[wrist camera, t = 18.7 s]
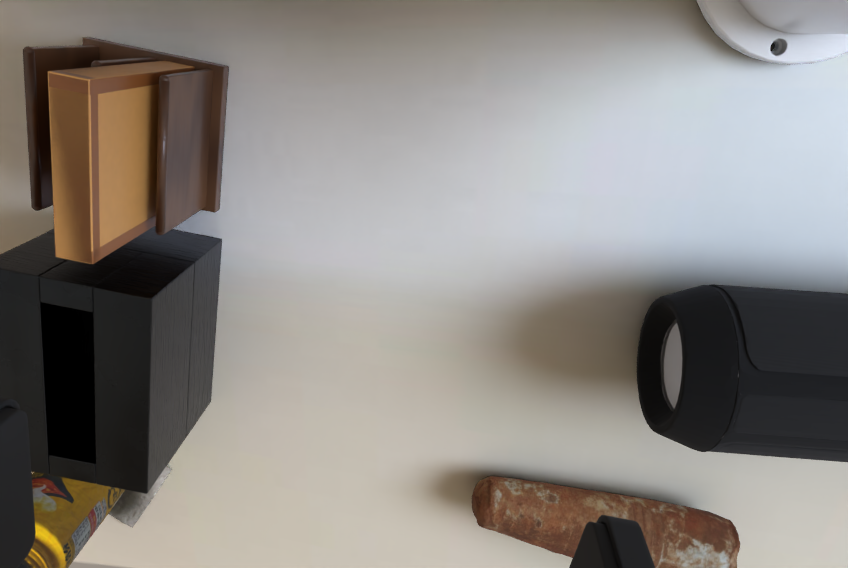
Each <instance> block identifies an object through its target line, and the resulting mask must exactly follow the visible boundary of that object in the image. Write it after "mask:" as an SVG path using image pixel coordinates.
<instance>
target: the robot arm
mask: <svg viewBox="0 0 848 568" xmlns="http://www.w3.org/2000/svg"><path fill="white" fill-rule="evenodd" d="M696 1H697V3H698V5H699V7H700V10H701V12H702V14H703V16H704V18H705V20H706V21H707V22H708V24H709V25H710V26H711V28H712V29H713V30H714V32H715V33H716V34H717V35H718V36H719V37H720V38H721V39H722V40H724V41H725V42H726V43H727V44H728V45H729V46H731V47H732V48H733V49H735V50H737V51H739V52H741V53H743V54H745V55H747V56H749V57H751V58H755V59H758V60H762V61H766V62H770V63H780V64H810V63H815V62H819V61H823V60H828V59H832V58H835V57H838V56H840V55H842V54H845V53H847V52H848V0H696ZM773 42H774V43H775V48H774V50H773V51H770V47H771V44H772V43H773ZM35 533H36V531H35V517H34V502H33V488H32V473H31V458H30V444H29V429H28V418H27V414H26V413H25V411H22V410H20V407H19V404H18V403H17V401H16V400H13V399H9V398H4V397H0V568H18V567H19V566H20V564H21V563H22V562H23V561H24V560H25V558H26V557H27V555H28V554H29V552H30V550H31V549H32V546H33V544H34V540H35ZM569 568H655V565H654V563H653V560H652V557H651V554H650V552H649V549H648V546H647V543H646V540H645V538H644V535H643V532H642V529H641V527H640V525H639V523H637V522H636V521H633V520H628V519H622V518H617V517H612V516H607V515H601V516H600V517H599V518H598V520H597V522H596V523H595V522H588V523H587V524H586V526H585V528H584V531H583V534H582V536H581V539H580V541H579V544H578V547H577V549H576V552H575V554H574V557H573V560H572V562H571V565H570V567H569Z"/></svg>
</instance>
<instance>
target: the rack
mask: <svg viewBox="0 0 848 568" xmlns="http://www.w3.org/2000/svg"><path fill="white" fill-rule="evenodd" d="M156 61H169V62H174V63H179V64H184V65H188V66H193V67H195V70H194V71H189V72H182V73H174V74H167V75H161V76H160V77H159V100H158V141H157V182H156V223H155V232H156V234H158V235H163V234H165V233H167V232H168V231H170V230H171V229H173V228H174V227H176V226H177V225H179V224H180V223H182V222H183V221H185V220H186V219H188V218H189V217H191V216H192V215H194V214H195V213H197V212H198V211H200V210H205V211H210V212H216V211H218V210H219V207H220V192H221V176H222V161H223V146H224V131H225V116H226V100H227V85H228V70H229V67H228V66H225V65H220V64H215V63H210V62H206V61H201V60H196V59H191V58H186V57H182V56H177V55H172V54H167V53H162V52H157V51H153V50H148V49H143V48H138V47H133V46H128V45H124V44H119V43H114V42H109V41H104V40H99V39H95V38H83V45H82V46H49V47H25V48H24V49H23V62H24V79H25V97H26V115H27V133H28V150H29V168H30V186H31V203H32V208H33V209H34V210H36V211H39V210H42V209H44V208H46V207H49V206H51V205H53V185H52V161H51V138H50V115H49V91H48V71H55V70H66V69H77V68H89V67H100V66H111V65H122V64H134V63H145V62H156Z"/></svg>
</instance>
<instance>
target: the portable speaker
mask: <svg viewBox="0 0 848 568" xmlns="http://www.w3.org/2000/svg"><path fill="white" fill-rule="evenodd" d="M637 384H638V392H639V400H640V404H641V409H642V412H643V415H644V417H645V420H646V422H647V424H648V425H649V427H650V428H651V429H652V430H653V431H654V432H656V433H658V434H660V435H662V436H664V437H667V438H669V439H671V440H673V441H676V442H678V443H680V444H683V445H685V446H687V447H689V448H692V449H694V450H697V451H701V452H707V451H711V452H724V453H737V454H750V455H762V456H775V457H788V458H801V459H814V460H827V461H840V462H848V294H842V293H827V292H813V291H798V290H783V289H769V288H754V287H739V286H725V285H701V286H698V287H694V288H691V289H687V290H683V291H680V292H676V293H673V294H669V295H666V296H662V297H660V298H658V299H656V300H655V301H654V302H653V303H652V305H651V306H650V308H649V310H648V312H647V314H646V316H645V319H644V322H643V325H642V329H641V334H640V340H639V346H638V355H637Z"/></svg>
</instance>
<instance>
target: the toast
mask: <svg viewBox="0 0 848 568" xmlns="http://www.w3.org/2000/svg"><path fill="white" fill-rule="evenodd" d="M194 70H195V67H193V66H188V65H184V64H179V63H174V62H169V61H156V62H145V63H134V64H122V65H111V66H100V67H89V68H77V69H66V70H55V71H48V91H49V115H50V138H51V161H52V185H53V208H54V232H55V257H59V258H64V259H69V260H74V261H79V262H84V263H89V264H94V263H96V262H97V261H99V260H101V259H102V258H104V257H105V256H107V255H109V254H110V253H112V252H113V251H115V250H117V249H118V248H120V247H121V246H123V245H125V244H126V243H128V242H130V241H131V240H133V239H134V238H136V237H138V236H139V235H141V234H142V233H144V232H146V231H147V230H149V229H150V228H152V227H154V226H155V223H156V182H157V141H158V100H159V77H160V76H161V75H167V74H174V73H182V72H189V71H194Z"/></svg>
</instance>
